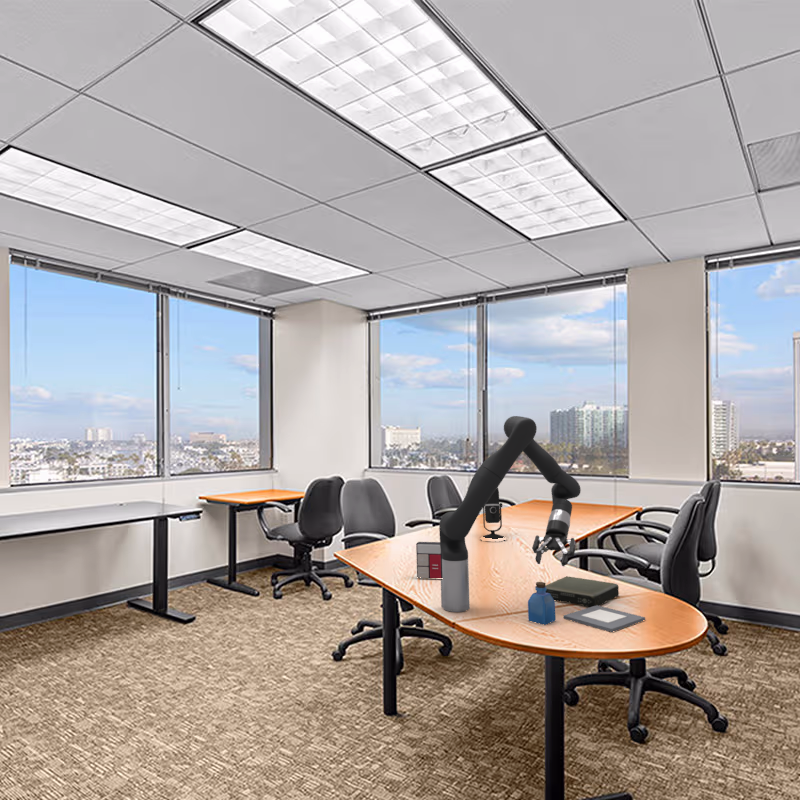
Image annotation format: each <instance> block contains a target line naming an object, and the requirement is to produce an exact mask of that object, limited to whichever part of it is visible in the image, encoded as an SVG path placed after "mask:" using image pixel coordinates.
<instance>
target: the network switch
mask: <svg viewBox="0 0 800 800" xmlns="http://www.w3.org/2000/svg"><path fill="white" fill-rule="evenodd" d="M545 587H546V593H550V595H551V596H552V598H553V599H554V600H556V601H555V602H560V601H561V603H569V604H575V605H578V606H583V607H585V608H589V607H592V606H596V605H598V606H601V605H603V604H604V603H607V602H608V601H612V600H614V599H615V597H616V598H618V597H619V594H620V592H619V590H620V589H619V584H617V583H613V582H607V581H600V580H595V579H587V578H581V577H573V576H568V575H567V576H564V577H561V578H559V579H557V580H555V581H553V582H550V583H548V584H545ZM613 598H614V599H613Z"/></svg>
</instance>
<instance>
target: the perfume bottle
mask: <svg viewBox="0 0 800 800" xmlns="http://www.w3.org/2000/svg"><path fill="white" fill-rule="evenodd" d="M535 585H536V586H534V587H535V591H536V592H534V593H532V594H531V595H530V597H529V598H528V601H527V608H528V609H527V615H528V622H530V621H532V622H531V623H534V622H536V623H535V624H539V623H540V625H543V624H544V626H547V625H548V623H549V624H551V623H553V622H556V621H555V620H556V601H554V599H553V598H552V596H551V595H550V593H546V587H545V585H547V583H546V582H545V581H544V582H543V581H537V582H535ZM550 622H551V623H550ZM546 624H547V625H546Z"/></svg>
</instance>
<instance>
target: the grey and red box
mask: <svg viewBox="0 0 800 800" xmlns="http://www.w3.org/2000/svg"><path fill="white" fill-rule="evenodd" d="M415 545H416V550H415V551H416V552H415V553H416V578H417V577H418V578H420V577H421V578H443V577H442V553H441V548H440V541H418V542H417V543H416V544H415Z"/></svg>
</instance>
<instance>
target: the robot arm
mask: <svg viewBox="0 0 800 800" xmlns="http://www.w3.org/2000/svg"><path fill="white" fill-rule="evenodd" d="M537 428H538V427H537V424H536V422H535V421H534V420H533V418H529V417H525V416H520V415H519V416H518V415H513V416H509V417H508V418H507V419H506V420H505V421H504V423H503V432H504V434H505V436H506V437H507V440H506V441H505V442H504V443H503V445H502V446H500V448H499V449H498V450H496V451H495V452H494V453H492V454H491V455H490V456H489V457H487V458H486V459H485V460H484V461H483V462H482V463H481V464H480V466H479V467H478V469H477V470H476V471H475V473H474V475H473V476H472V478H471V480H470V483H469V485H468V487H467V488H468V489H467V491H466V495H465V496H464V498H463V500H462V501H461V503H460V504H459V506H458V507H457V508H456V509H455V511H448V512H445V513H444V514H443V515H442V516H441V518H440V521H439V526H438V527H439V529H438V530H439V542H440V548H441V553H442V577H443V579H442V580H440V598H441V599H440V602H441V604H440V605H441V608H442V609H443V610H444V611H447V612H453V613H461V612H466V610H467V611H469V610H470V605H471V604H470V578H469V576H470V574H469V573H470V571H469V569H470V568H469V549H468V548H467V544H466V537H467V536H468V535H469V533H470V531H471V530H472V528H473V526H474V524H475V522H476V521H477V518H478V516H479V515H480V513H481V511H483V507H484V508H485V504H486V503H487V502H488V500H489V499H490V497H491V496H492V494H493V493H494V492H495V490H496V489H497V488H498V489H499V486H500V484H501V483H502V482H503V480H504V478H505V477H506V475H507V474H508V472H509V471H510V470H511V468H512V467H513V466H514V463H515V462H516V461H517V459H518V458H519V457H520V456H521V454H522V453H524V454H525V456H527V458H528V459H529V460H530V462H532V464H533V465H534V466H535V468H536V469H537V470H538V471H539V472H540V473H541V475H542V477H543V478H545V480H546V481H547V482H548V483H550V484H553V485H552V487H551V498H552V499H551V500H552V501H551V502H552V507H551V512H550V514H549V516H548V521H547V525H546V530H545V533H544V534H545V535H544V537H542V536H541V537H540V536H539V535H536V536H535V538H534V541H533V545H532V547H531V548H532V551H533V554H535V559H534V560H535V561H536V563H537V564H538V565H540V564H541V561H542V556H543V554H545V553H547V552H548V551H556V552H559V551H561V552H562V556H561V561H560V562H561V563H560V564H561V567H565V566H567V564H568V560H569V557H575V555H576V553H575V552H576V540H575V538H574V537H571V538H570V539H568V536H569V531H570V526H571V516H572V512H573V504H572V502H571V501H570V499H575V498H577V497H579V496H580V495H581V491H582V489H581V485H580V484H579V482H578V481H577V479H575V477H573V476H572V475H570V474H569V473H568V472H566V471H565V470H563V469H562V468H561V466H560V465H559V463H558V462H557V460H556V459H555V458H554V456H552V455H551V454H550V453H549V452H548V451H547V450H545V449H544V448H543V447H542V446H541V445H540V444H539V443H538V442H537V441H536V440H535V439H534V438H535V437H536V434H537ZM542 542H543V543H542ZM567 544H568V545H569V550H567V549H566V545H567ZM468 609H469V610H468Z"/></svg>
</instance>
